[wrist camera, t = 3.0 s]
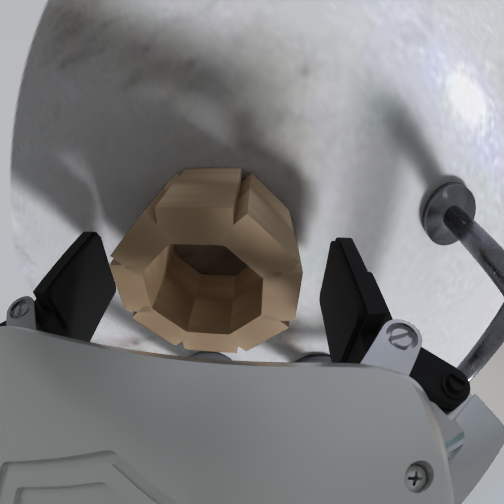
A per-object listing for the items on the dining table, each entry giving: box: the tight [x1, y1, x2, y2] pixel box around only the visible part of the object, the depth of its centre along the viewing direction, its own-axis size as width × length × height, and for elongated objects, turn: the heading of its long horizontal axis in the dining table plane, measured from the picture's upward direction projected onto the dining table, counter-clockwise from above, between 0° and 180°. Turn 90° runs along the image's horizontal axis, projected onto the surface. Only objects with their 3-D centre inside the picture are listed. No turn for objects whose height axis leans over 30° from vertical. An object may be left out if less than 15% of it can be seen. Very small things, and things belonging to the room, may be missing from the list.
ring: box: [110, 168, 303, 353], centre depth 11 cm, size 6×6×4 cm
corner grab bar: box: [296, 182, 504, 382], centre depth 12 cm, size 15×8×6 cm, turn 179°
